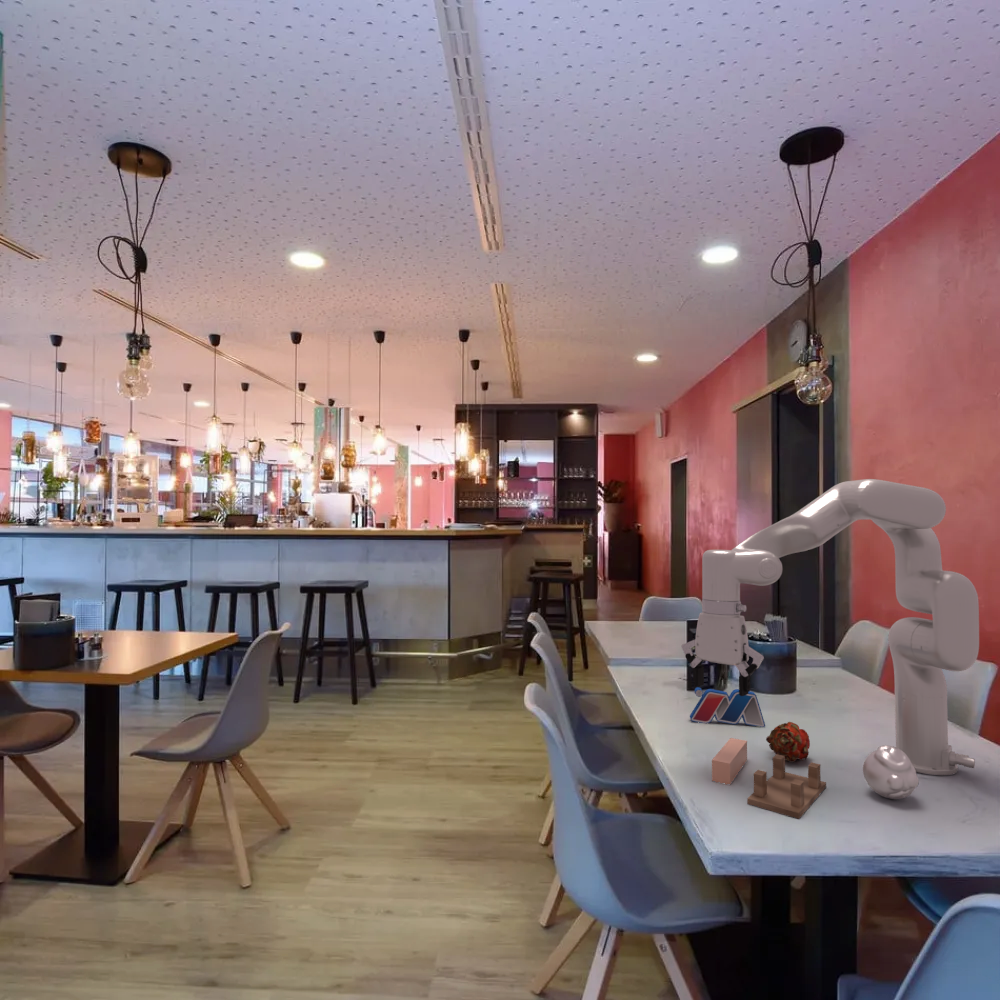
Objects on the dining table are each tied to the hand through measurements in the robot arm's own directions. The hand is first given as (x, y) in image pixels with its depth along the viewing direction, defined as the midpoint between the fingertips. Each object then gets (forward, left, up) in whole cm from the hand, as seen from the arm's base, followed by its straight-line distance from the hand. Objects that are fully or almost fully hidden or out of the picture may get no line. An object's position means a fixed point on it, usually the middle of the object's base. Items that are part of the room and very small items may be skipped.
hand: (720, 690), depth 131 cm
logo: (+12, -34, -18) cm, 40 cm away
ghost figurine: (-29, -10, -17) cm, 35 cm away
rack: (-14, +2, -17) cm, 22 cm away
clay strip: (-1, -3, -17) cm, 18 cm away
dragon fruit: (-8, -19, -17) cm, 27 cm away
